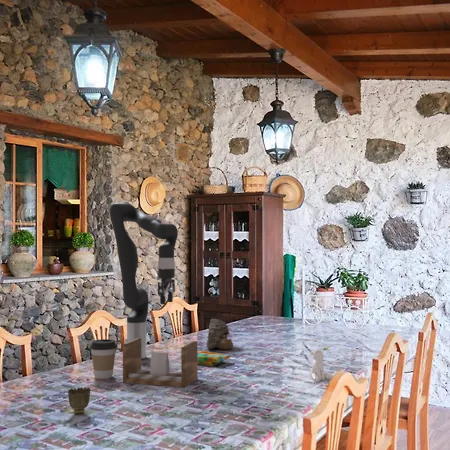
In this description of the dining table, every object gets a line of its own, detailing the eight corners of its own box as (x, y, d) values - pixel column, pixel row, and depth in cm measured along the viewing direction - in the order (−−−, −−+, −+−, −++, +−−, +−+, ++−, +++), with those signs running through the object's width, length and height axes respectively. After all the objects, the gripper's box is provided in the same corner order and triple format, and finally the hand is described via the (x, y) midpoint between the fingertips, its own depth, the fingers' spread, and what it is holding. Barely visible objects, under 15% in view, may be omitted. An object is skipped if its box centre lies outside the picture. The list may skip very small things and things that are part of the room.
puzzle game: (195, 348, 293) (230, 353, 282) (195, 358, 293) (230, 363, 282) (180, 352, 283) (217, 357, 272) (180, 363, 283) (217, 368, 272)
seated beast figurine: (315, 382, 245) (315, 353, 245) (302, 378, 253) (302, 349, 253) (334, 380, 249) (333, 350, 249) (321, 375, 257) (321, 347, 257)
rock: (202, 314, 321) (229, 310, 317) (210, 331, 330) (237, 327, 326) (198, 342, 307) (227, 338, 303) (207, 359, 316) (235, 355, 312)
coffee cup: (122, 375, 258) (122, 339, 258) (108, 381, 247) (108, 344, 247) (98, 373, 262) (98, 338, 262) (84, 379, 251) (84, 342, 251)
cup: (69, 410, 208) (69, 386, 208) (91, 409, 209) (91, 386, 209) (66, 416, 201) (66, 392, 201) (88, 416, 201) (88, 392, 201)
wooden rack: (122, 382, 246) (122, 343, 246) (138, 374, 260) (138, 337, 260) (184, 387, 238) (184, 347, 238) (197, 378, 251) (197, 341, 251)
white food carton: (165, 378, 245) (165, 354, 245) (150, 377, 247) (150, 353, 247) (169, 376, 249) (169, 352, 249) (153, 375, 251) (153, 351, 251)
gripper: (165, 266, 285) (165, 301, 285) (152, 268, 272) (152, 304, 272) (180, 266, 283) (180, 301, 283) (167, 268, 270) (167, 305, 270)
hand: (166, 303), depth 277 cm, fingers open, 8 cm apart
